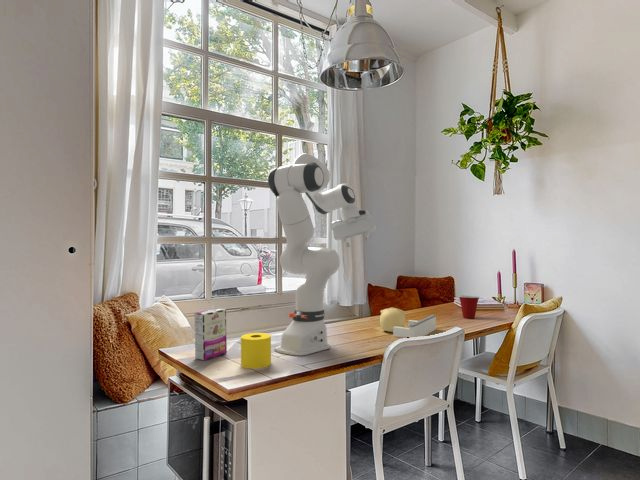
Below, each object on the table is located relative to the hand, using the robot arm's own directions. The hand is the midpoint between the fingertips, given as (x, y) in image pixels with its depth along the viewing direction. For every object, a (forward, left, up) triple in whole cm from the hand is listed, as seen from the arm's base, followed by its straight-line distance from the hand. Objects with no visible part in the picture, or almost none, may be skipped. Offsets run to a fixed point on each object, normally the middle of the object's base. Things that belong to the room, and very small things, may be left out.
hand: (357, 244), depth 195 cm
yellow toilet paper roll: (-67, +3, -40) cm, 78 cm away
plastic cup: (+57, -36, -40) cm, 79 cm away
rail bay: (+5, -25, -40) cm, 47 cm away
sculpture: (+5, -15, -40) cm, 43 cm away
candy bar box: (-69, +23, -40) cm, 83 cm away
